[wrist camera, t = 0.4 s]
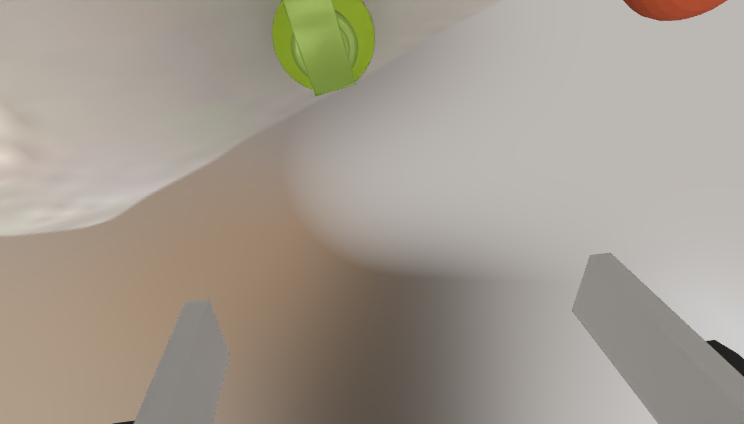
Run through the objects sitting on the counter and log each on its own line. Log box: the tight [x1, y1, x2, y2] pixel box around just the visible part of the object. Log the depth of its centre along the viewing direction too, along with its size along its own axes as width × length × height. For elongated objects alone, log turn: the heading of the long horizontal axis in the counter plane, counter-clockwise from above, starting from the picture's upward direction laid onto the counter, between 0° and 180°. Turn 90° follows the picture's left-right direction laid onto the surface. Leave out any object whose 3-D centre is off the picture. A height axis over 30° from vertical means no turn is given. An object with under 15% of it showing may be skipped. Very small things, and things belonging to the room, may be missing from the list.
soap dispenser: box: [272, 0, 375, 96], centre depth 24 cm, size 6×7×20 cm
